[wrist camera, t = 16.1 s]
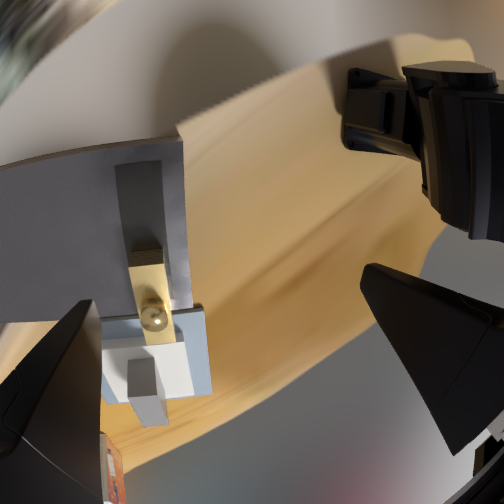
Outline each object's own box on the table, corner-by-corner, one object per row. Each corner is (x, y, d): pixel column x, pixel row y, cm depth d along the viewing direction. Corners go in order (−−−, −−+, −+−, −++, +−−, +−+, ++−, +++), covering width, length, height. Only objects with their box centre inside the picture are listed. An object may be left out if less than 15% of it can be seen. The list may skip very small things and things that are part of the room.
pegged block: (163, 248, 17) (164, 275, 14) (173, 324, 20) (178, 355, 17) (130, 252, 16) (126, 279, 14) (146, 327, 19) (147, 358, 17)
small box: (122, 454, 33) (128, 514, 24) (89, 453, 31) (92, 511, 22) (106, 432, 29) (110, 502, 20) (70, 431, 28) (69, 498, 19)
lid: (182, 331, 24) (190, 379, 19) (192, 386, 27) (201, 427, 23) (94, 340, 22) (87, 387, 17) (119, 393, 25) (119, 435, 21)
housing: (180, 136, 17) (183, 141, 14) (188, 283, 22) (193, 308, 20) (-25, 173, 13) (-47, 186, 10) (12, 300, 18) (0, 323, 15)
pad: (203, 307, 24) (204, 311, 23) (211, 390, 29) (212, 393, 29) (67, 320, 20) (66, 324, 20) (107, 400, 26) (107, 404, 26)
